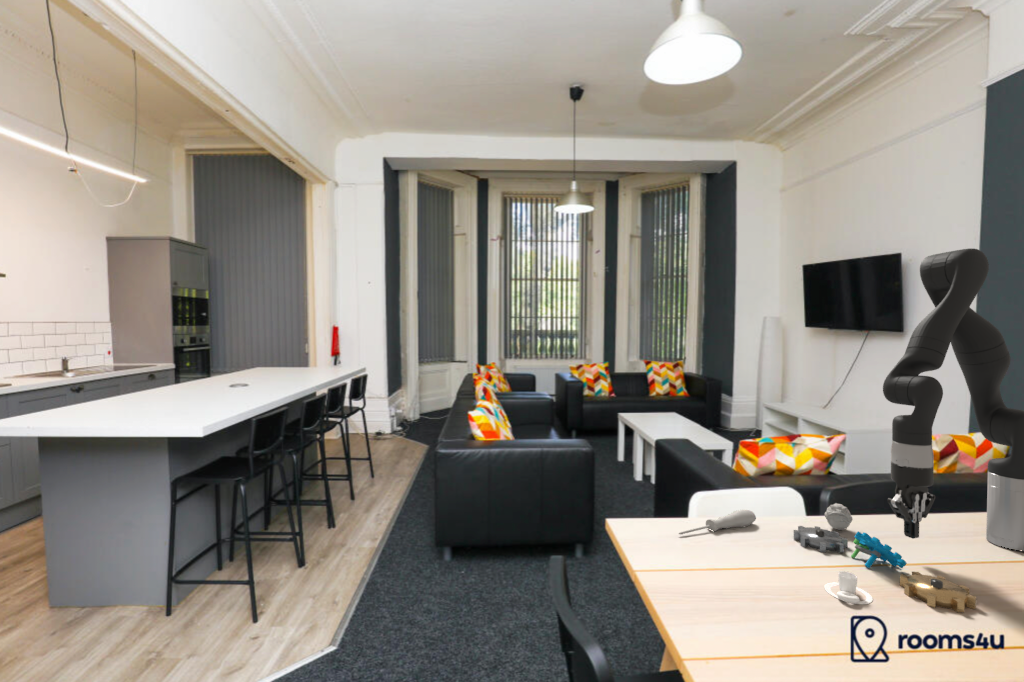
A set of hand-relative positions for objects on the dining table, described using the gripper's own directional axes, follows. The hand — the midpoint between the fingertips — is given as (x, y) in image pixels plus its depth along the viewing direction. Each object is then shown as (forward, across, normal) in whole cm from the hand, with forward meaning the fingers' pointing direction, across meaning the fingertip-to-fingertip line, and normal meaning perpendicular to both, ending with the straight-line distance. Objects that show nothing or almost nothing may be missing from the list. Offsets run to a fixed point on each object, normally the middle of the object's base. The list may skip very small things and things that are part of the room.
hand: (911, 536), depth 110 cm
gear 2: (+5, +10, 0) cm, 12 cm away
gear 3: (+5, +12, +12) cm, 18 cm away
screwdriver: (+5, +31, -27) cm, 41 cm away
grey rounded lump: (+5, 0, -17) cm, 18 cm away
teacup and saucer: (+5, +31, +4) cm, 32 cm away
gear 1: (+5, +12, -13) cm, 18 cm away
